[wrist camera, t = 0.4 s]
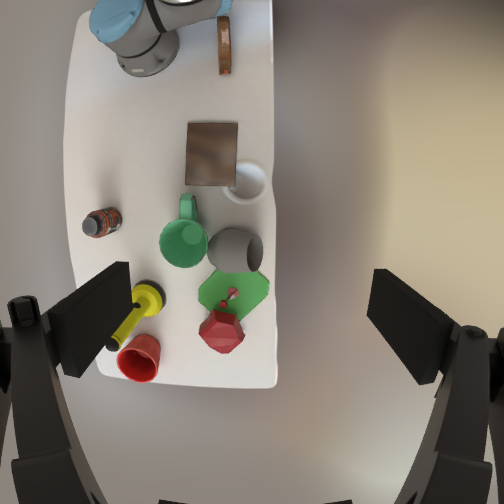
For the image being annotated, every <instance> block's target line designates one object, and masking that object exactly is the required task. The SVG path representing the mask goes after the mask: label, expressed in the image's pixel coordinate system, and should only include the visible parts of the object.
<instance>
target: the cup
mask: <svg viewBox="0 0 504 504" xmlns="http://www.w3.org/2000/svg"><path fill="white" fill-rule="evenodd" d="M207 256H208V259H209V261H210V263H211V264H212V265H214V266H215V267H216V268H217V269H219V270H220V271H222V272H223V273H244V272H255V271H257V270H258V268H259V267H260V265H261V262H262V257H263V244H262V241H261V238H260V237H259V236H258V235H254V234H250V233H246V232H242V231H238V230H234V229H226V230H224V231H222V232H220V233H218V234H216V235H214V236H213V237H212V238H211V239H210V241H209V243H208V249H207Z"/></svg>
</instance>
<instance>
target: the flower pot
mask: <svg viewBox="0 0 504 504" xmlns="http://www.w3.org/2000/svg"><path fill="white" fill-rule="evenodd" d="M160 350H161V349H160V345H159V343H158V341H157V340H156V339H155V338H153V337H152V336H149V335H139V336H137V337H136V338H135V339H133V340H132V341H131V342H130V343H129V344H128V345H127V346H126V347H125V348H123V349H122V350H121V351H120V353H119V354H118V356H117V365H118V368H119V369H120V371H121V372H122V373H123V374H124V375H125V376H126V377H127V378H129V379H130V380H133V381H135V382H140V383H145V382H149V381H151V380H153V379H154V378H155V377H156V375H157V372H158V366H159V360H160Z"/></svg>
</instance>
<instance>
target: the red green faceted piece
mask: <svg viewBox="0 0 504 504" xmlns="http://www.w3.org/2000/svg"><path fill="white" fill-rule="evenodd" d="M268 289H269V281H268V280H266V279H265V278H264V277H263V276H262V275H261V274H260V273H259V272H258V271H255V272H244V273H223V272H222V271H220V270H219V269H218V270H217V271H216V272H215V273H214V274H213V275H212V276H211V277H210V278H209V279H208V280H207V281H206V282H205V283H204V284H203V285H202V286H201V287H200V288H199V300H198V301H199V302H200V303H201V304H202V305H203V306H205V307H206V308H207V309H208V310H209V311H210V312H211V314H210V315H209V317H208V318H207V319H206V320H205V321H204V322H203V323H202V324H201V325H200V328H199V335H200V336H201V338H202V339H203V340H204V341H205V342H206V343H207V345H208V346H209V347H211V348H212V349H214V350H216V351H218V352H219V353H221V354H223V353H229V352H231V351H232V350H233V349H234V348H235V347H236V346H238V345H239V344H240V343H241V342H242V341H243V339H244V337H245V334H244V333H243V330H242V328H241V326H240V323H239V321H240V320H241V319H242V318H244V317H245V316H246V315H247V314H248V313H249V312H250V311H251V310H252V309H253V308H255V307H256V306H257V305H258V304H259V303H260V302H261V301H262V300H263V299H264V298H265V297H266V296H267V295H268Z"/></svg>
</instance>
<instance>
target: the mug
mask: <svg viewBox="0 0 504 504" xmlns="http://www.w3.org/2000/svg"><path fill="white" fill-rule="evenodd" d="M159 245H160V250H161V252H162V254H163V256H164V258H165V259H166V260H167V261H168V262H169V263H171V264H172V265H174V266H176V267H180V268H190V267H193V266H195V265H197V264H198V263H199V262H200V261H201V260H202V259H203V257H204V256H205V255H206V253H207V249H208V238H207V234H206V232H205V230H204V228H203V227H202V226H201V225H200V224H199V223H198V221H197V205H196V199H195V196H193V195H191V194H189V193H185V194H182V195H181V198H180V219H176V220H174V221H172V222H170V223H169V224H168V225H167V226H166V227H165V228H164V229H163V231H162V233H161V235H160V241H159Z"/></svg>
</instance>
